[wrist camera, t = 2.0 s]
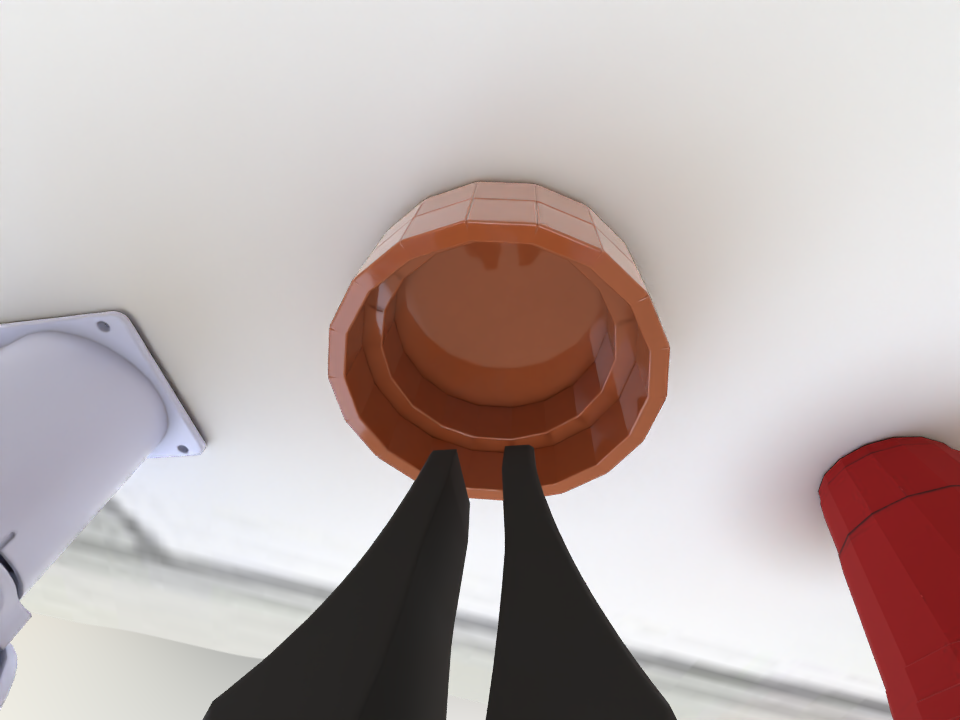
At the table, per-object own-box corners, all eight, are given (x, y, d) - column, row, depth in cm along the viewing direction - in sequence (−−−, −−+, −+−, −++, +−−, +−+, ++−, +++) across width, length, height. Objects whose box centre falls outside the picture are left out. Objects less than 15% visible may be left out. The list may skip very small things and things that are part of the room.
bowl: (402, 430, 23) (378, 507, 20) (329, 199, 18) (274, 245, 14) (637, 414, 22) (661, 495, 18) (643, 153, 16) (680, 192, 12)
